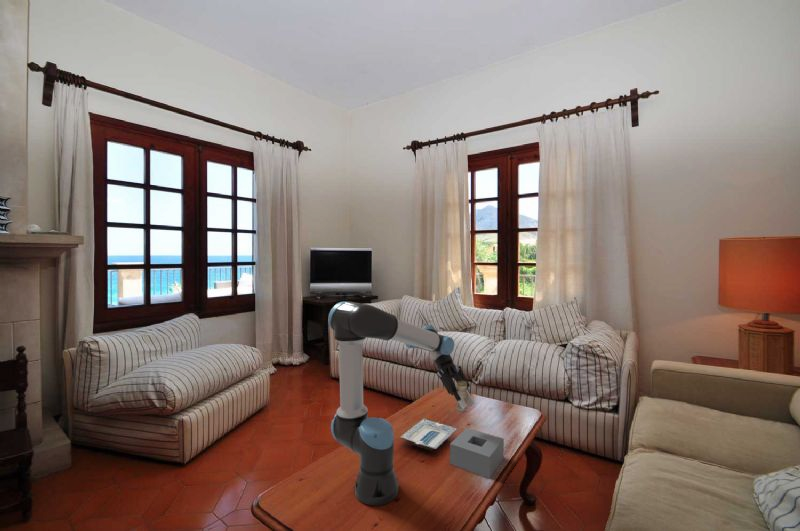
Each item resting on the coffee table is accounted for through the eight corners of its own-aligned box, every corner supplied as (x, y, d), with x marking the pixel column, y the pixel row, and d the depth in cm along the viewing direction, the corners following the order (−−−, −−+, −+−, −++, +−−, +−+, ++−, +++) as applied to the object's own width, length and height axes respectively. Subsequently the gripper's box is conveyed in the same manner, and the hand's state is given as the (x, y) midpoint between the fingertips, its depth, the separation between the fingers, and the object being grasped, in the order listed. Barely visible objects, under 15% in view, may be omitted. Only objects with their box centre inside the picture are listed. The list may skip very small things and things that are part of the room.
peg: (464, 413, 145) (464, 384, 144) (455, 410, 147) (455, 382, 147) (467, 409, 148) (468, 381, 148) (459, 407, 150) (459, 379, 150)
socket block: (489, 478, 128) (489, 456, 128) (450, 464, 137) (450, 443, 137) (503, 458, 141) (503, 438, 141) (466, 446, 150) (466, 427, 150)
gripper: (450, 358, 164) (477, 405, 152) (423, 364, 154) (449, 415, 141) (459, 349, 160) (487, 397, 147) (431, 355, 150) (459, 407, 137)
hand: (468, 406), depth 144 cm, fingers closed on peg, 4 cm apart
